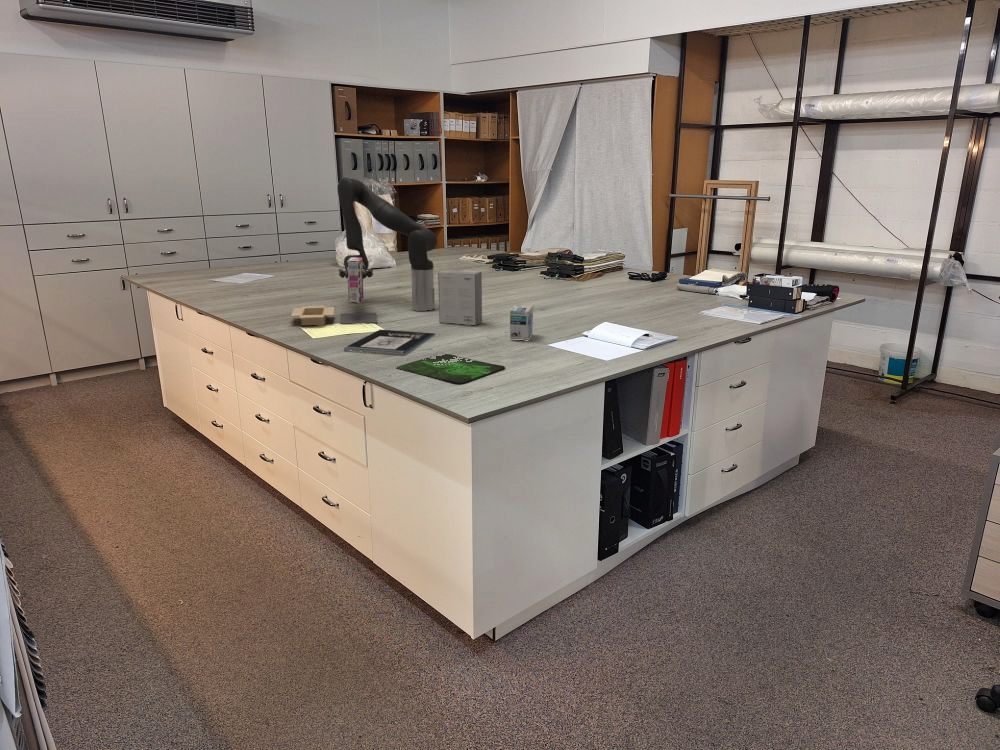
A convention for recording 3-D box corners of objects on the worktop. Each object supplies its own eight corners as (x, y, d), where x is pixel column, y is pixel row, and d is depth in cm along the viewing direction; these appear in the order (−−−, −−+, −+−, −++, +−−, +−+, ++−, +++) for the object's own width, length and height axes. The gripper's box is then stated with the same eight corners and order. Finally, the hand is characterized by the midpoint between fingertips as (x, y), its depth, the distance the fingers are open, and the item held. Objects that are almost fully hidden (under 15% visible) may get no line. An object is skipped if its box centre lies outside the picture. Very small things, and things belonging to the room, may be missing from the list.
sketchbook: (435, 337, 244) (435, 331, 244) (404, 358, 216) (404, 352, 216) (380, 332, 249) (379, 327, 248) (342, 352, 221) (342, 346, 221)
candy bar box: (361, 303, 261) (359, 261, 256) (348, 303, 261) (346, 261, 256) (364, 297, 272) (362, 256, 267) (351, 297, 271) (349, 256, 266)
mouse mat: (391, 369, 204) (391, 365, 203) (441, 354, 220) (441, 351, 220) (460, 386, 188) (460, 383, 187) (507, 369, 204) (508, 366, 204)
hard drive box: (482, 322, 264) (482, 271, 259) (475, 326, 257) (475, 274, 252) (446, 319, 269) (445, 269, 263) (438, 323, 262) (437, 271, 256)
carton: (335, 315, 275) (334, 305, 273) (333, 326, 254) (333, 316, 253) (295, 316, 272) (294, 306, 270) (290, 328, 251) (289, 317, 250)
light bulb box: (528, 341, 236) (528, 311, 233) (509, 340, 237) (509, 310, 234) (532, 334, 246) (533, 305, 243) (514, 333, 247) (515, 304, 244)
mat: (375, 313, 278) (375, 312, 278) (377, 323, 261) (377, 322, 261) (341, 314, 275) (341, 313, 275) (339, 324, 258) (339, 323, 258)
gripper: (337, 260, 276) (336, 266, 261) (373, 260, 279) (374, 266, 263) (338, 278, 279) (337, 286, 263) (374, 278, 281) (374, 285, 266)
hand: (355, 276), depth 263 cm, fingers closed on candy bar box, 5 cm apart
